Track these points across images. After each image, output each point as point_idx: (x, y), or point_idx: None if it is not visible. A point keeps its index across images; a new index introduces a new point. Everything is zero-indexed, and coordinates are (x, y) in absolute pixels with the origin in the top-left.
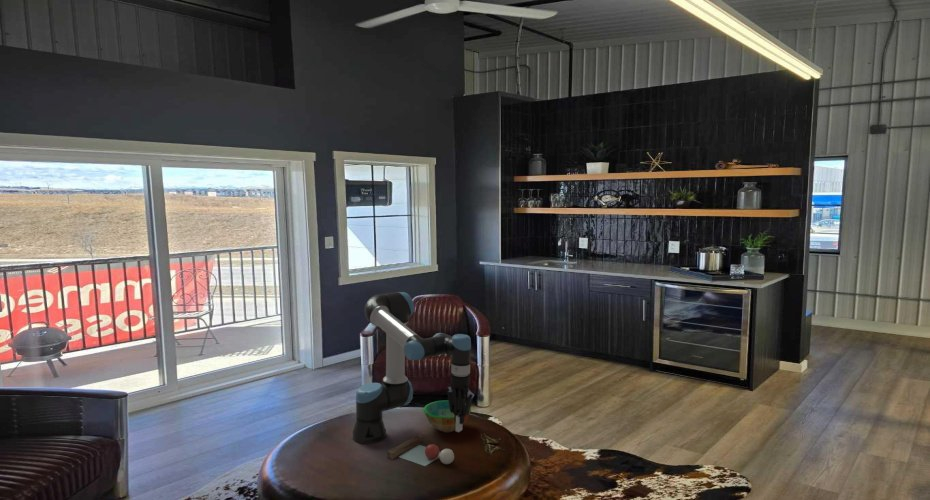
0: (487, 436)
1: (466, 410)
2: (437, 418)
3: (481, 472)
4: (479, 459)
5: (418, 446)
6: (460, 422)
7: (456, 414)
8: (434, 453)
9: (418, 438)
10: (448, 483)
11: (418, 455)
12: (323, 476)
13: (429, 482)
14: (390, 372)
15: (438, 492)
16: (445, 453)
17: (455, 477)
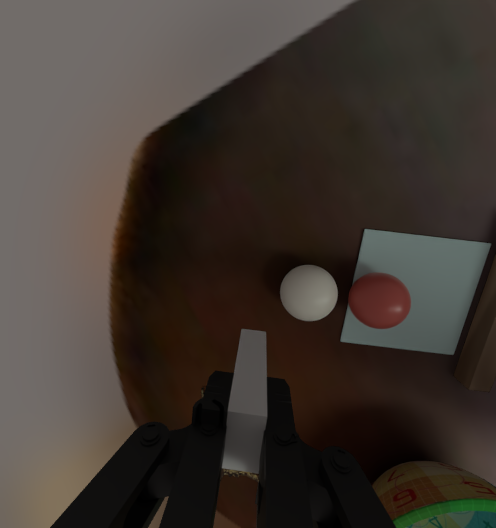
0: (253, 478)
1: (78, 501)
2: (465, 495)
3: (171, 282)
4: (219, 354)
5: (451, 342)
6: (225, 379)
7: (266, 434)
8: (360, 284)
9: (475, 373)
10: (230, 160)
11: (422, 285)
12: None
13: (295, 130)
14: None
15: (230, 80)
16: (308, 280)
17: (229, 211)
